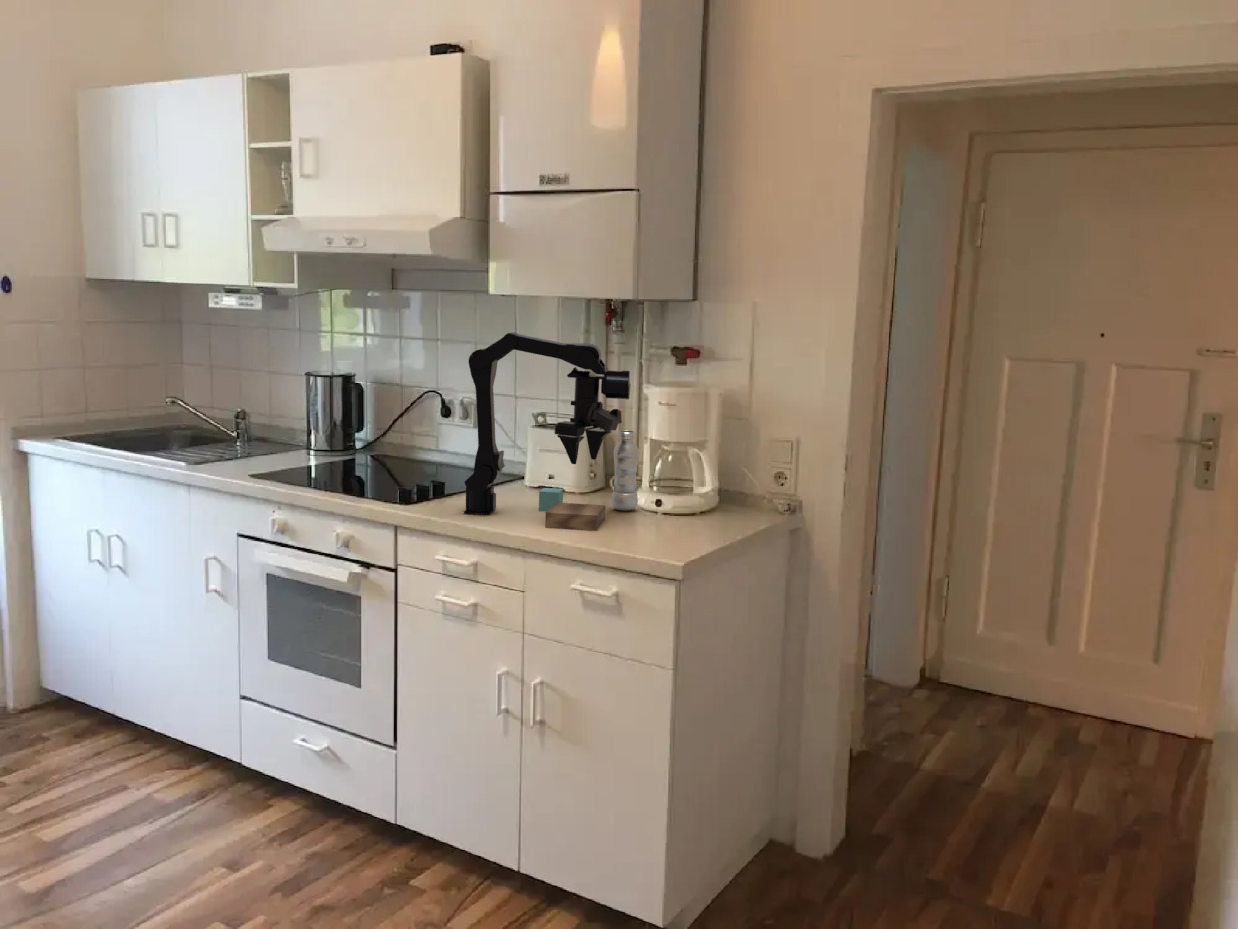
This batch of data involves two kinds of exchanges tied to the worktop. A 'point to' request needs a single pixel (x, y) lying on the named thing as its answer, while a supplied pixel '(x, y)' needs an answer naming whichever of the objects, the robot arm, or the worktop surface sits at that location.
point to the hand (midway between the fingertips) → (583, 461)
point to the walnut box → (575, 516)
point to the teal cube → (549, 498)
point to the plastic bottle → (625, 472)
